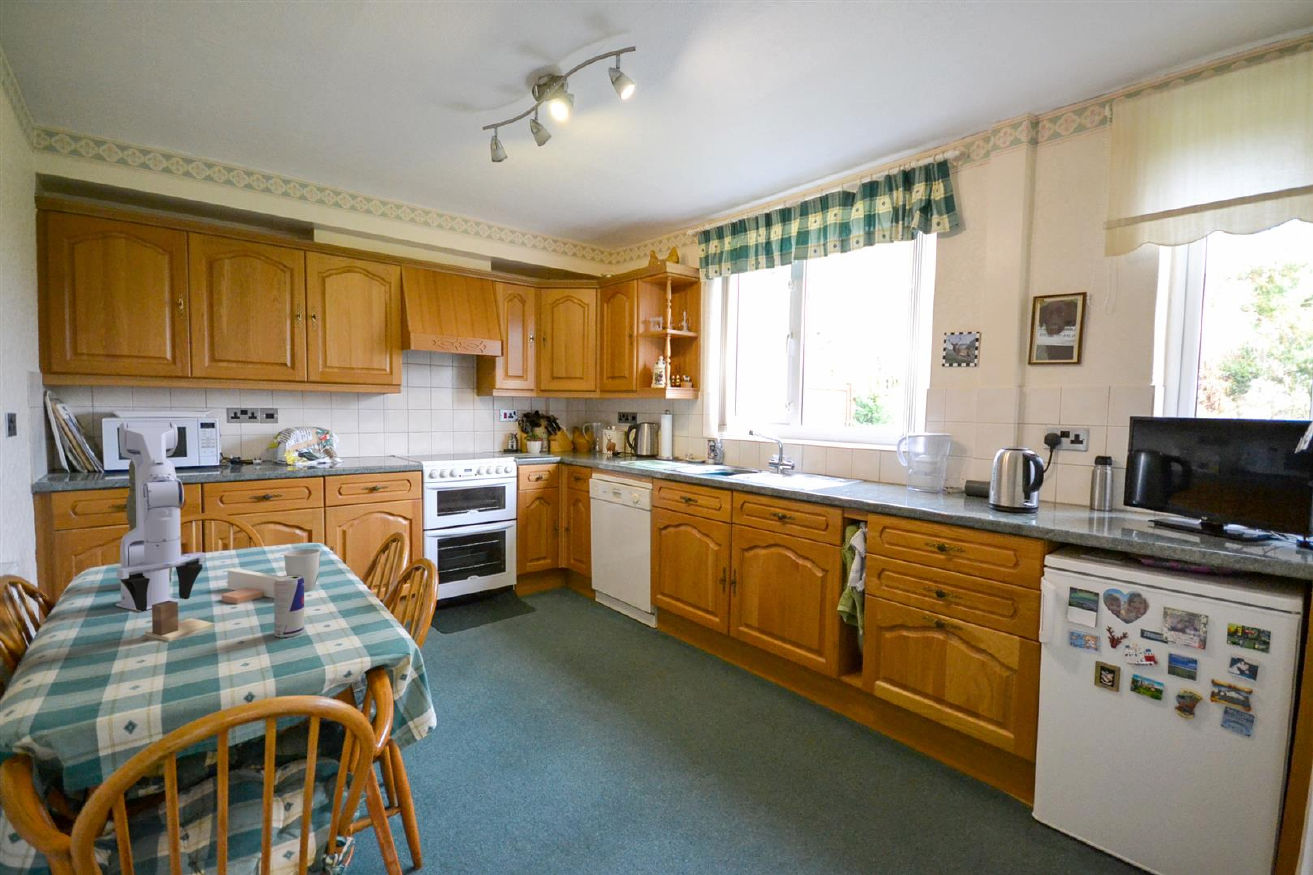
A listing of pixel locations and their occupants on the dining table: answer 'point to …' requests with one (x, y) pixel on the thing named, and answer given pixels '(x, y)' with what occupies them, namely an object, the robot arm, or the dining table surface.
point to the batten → (251, 581)
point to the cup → (304, 565)
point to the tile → (241, 595)
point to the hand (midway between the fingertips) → (163, 603)
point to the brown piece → (173, 623)
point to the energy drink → (289, 605)
